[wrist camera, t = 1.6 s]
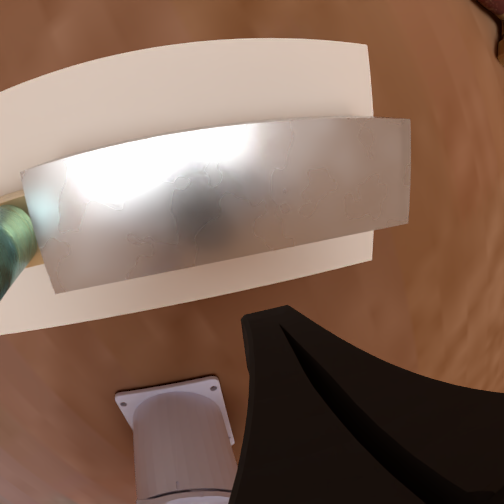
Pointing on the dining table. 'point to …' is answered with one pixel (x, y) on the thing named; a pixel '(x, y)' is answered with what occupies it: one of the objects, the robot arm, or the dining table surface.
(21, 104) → the base board
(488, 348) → the dining table surface
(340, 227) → the steel sleeve
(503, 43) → the olive brown lump
